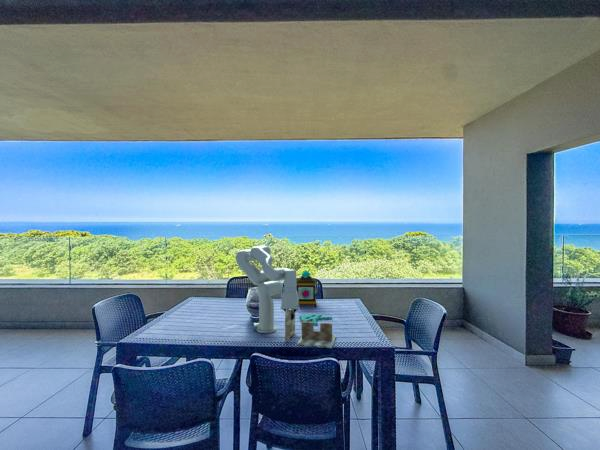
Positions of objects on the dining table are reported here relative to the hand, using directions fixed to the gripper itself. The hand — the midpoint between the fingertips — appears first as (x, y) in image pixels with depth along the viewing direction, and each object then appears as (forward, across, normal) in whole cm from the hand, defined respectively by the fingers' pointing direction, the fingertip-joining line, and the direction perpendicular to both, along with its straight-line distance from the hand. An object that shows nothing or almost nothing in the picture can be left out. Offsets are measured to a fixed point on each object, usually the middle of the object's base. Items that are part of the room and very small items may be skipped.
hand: (290, 319), depth 198 cm
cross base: (+11, +17, -2) cm, 21 cm away
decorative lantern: (+12, -8, +80) cm, 81 cm away
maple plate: (+10, 0, 0) cm, 10 cm away
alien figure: (+12, +6, +40) cm, 42 cm away
